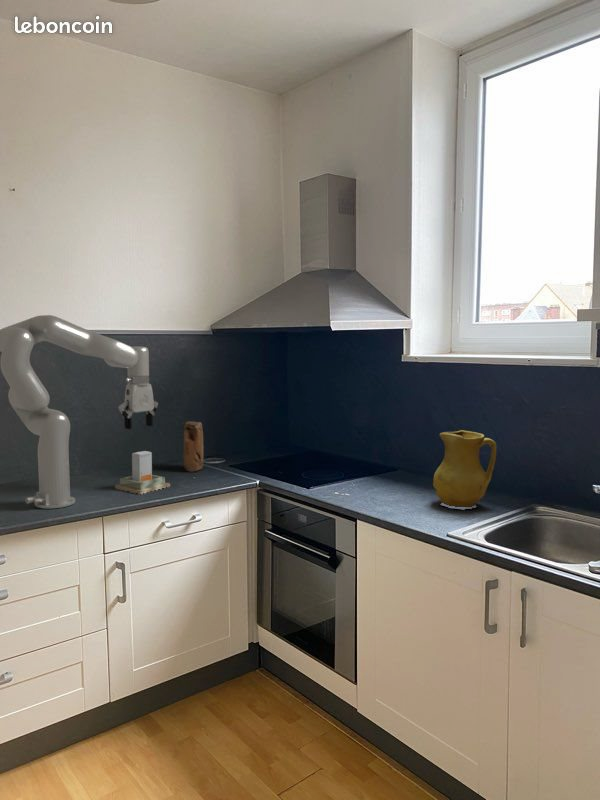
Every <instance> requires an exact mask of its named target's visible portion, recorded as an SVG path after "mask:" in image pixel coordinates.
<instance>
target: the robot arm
mask: <svg viewBox="0 0 600 800" xmlns="http://www.w3.org/2000/svg"><path fill="white" fill-rule="evenodd" d="M40 342H48V343H51V344H52V345H53V344H54V345H56V346H58V347H61V348H64V349H67V350H69V351H71V352H74V353H77V354H80V355H83V356H89V357H94V358H100V359H102V360H104V362H105V363H106V365H108V366H110V367H113V368H124V369H127V377H126V378H125V382H126V383H127V384H126V385H125V386H126V387H125V391H124V402H123V403H121V404H120V405H118V407H117V409H118V411H119V413H120V415H121V416H122V418H124V428H125V429H126V430H132V428H133V425H132V424H133V420H132V415H133V413H144V412H145V413H146V415H145V425H146V427H153V426H154V416H155V414H156V412H157V410H158V409H157V408H158V405H159V402H158V401H156V400H154V394H153V393H154V392H153V386H152V384H151V383H150V357H149V355H150V354H149V352H150V351H149V349H148V347H146V346H140V345H139V346H130V345H129V344H126V343H124V342H122V341H119V340H117V339H113V338H111V337H109V336H106V335H102V334H100V333H98V332H95V331H91V330H88V329H86V328H84V327H81V326H79V325H76V324H75V323H73V322H71V321H67V320H65V319H63V318H60V317H57V316H56V315H51V314H50V315H49V314H47V315H46V314H45V315H42V314H41V315H37V316H33V317H30V318H28V319H25V320H22V321H19V322H17V323H14V324H11V325H8V326H6V327H3V328H1V329H0V353H1V354H0V371H1V373H2V376H3V378H4V379H5V381H6V382H7V384H8V386H9V390H8V394H7V395H8V396H7V397H8V398H7V399H8V401H9V404H10V405H11V407H12V409H13V410H14V412H16V413H15V414H16V415H17V417H19V419H20V420H21V422H22V423H23V424H24V426H25V427H26V428H27V430H28V431H30V433H33V434H34V435H36V436H39V439H38V444H37V463H38V464H37V465H38V469H37V470H38V491H36V492H35V495H34V496H30V497H29V496H28V497H25V500H24V501H25V504H27V505H29V504H32V503H33V504H34V506H35V507H36V508H40V509H44V510H45V509H59V508H60V509H61V508H65V507H69V506H72V505H73V504H75V503H76V498H75V497H73V496H71V487H70V485H71V483H70V459H69V458H70V457H69V456H70V455H69V452H70V450H69V445H70V442H69V440H70V434H71V422H70V420H69V419H70V418H69V417H68V416H67V415H66V413H64V412H62V411H60V410H57V409H53V408H49V407H48V406H49V403H50V399H51V398H50V394H49V392H48V390H47V389H46V387H45V386H44V385H43V383H42V382H41V380H40V378H39V377H38V375H37V374H36V372H35V371H34V369H33V367H32V365H31V361H30V357H31V353H32V350H33V349H34V345H36V344H38V343H40Z"/></svg>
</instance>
